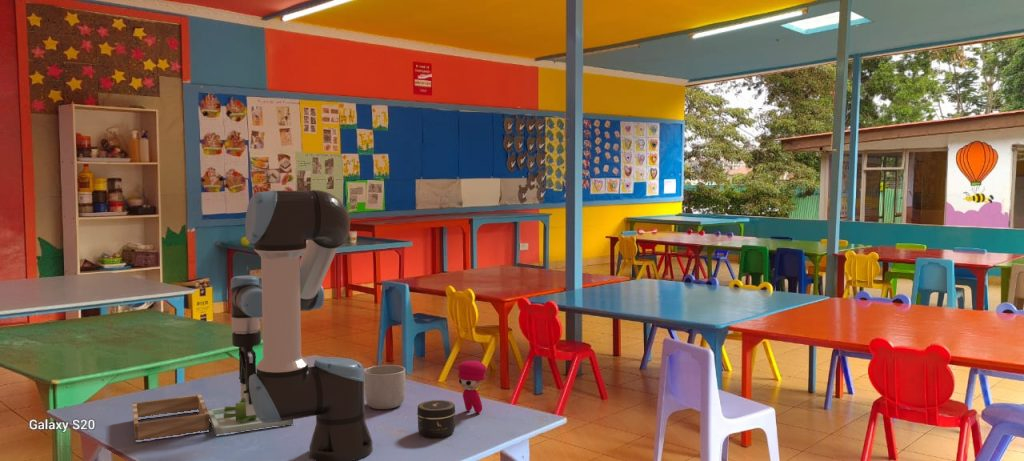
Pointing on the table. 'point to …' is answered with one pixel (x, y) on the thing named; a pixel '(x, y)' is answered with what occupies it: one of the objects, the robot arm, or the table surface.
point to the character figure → (239, 412)
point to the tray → (237, 422)
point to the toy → (471, 383)
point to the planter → (384, 386)
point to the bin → (172, 424)
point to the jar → (436, 418)
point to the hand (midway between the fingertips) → (248, 410)
